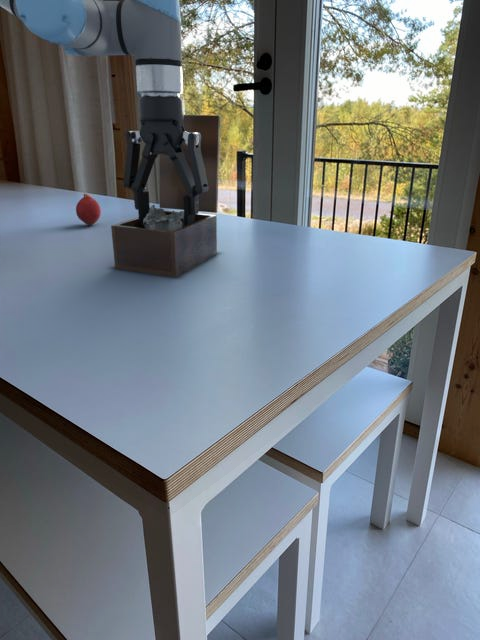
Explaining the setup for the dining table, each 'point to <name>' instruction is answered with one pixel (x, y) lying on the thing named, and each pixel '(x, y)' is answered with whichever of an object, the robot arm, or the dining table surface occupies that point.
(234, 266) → the dining table surface
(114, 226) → the chest
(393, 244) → the dining table surface
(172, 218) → the egg carton
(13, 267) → the dining table surface
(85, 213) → the onion
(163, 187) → the chest lid
